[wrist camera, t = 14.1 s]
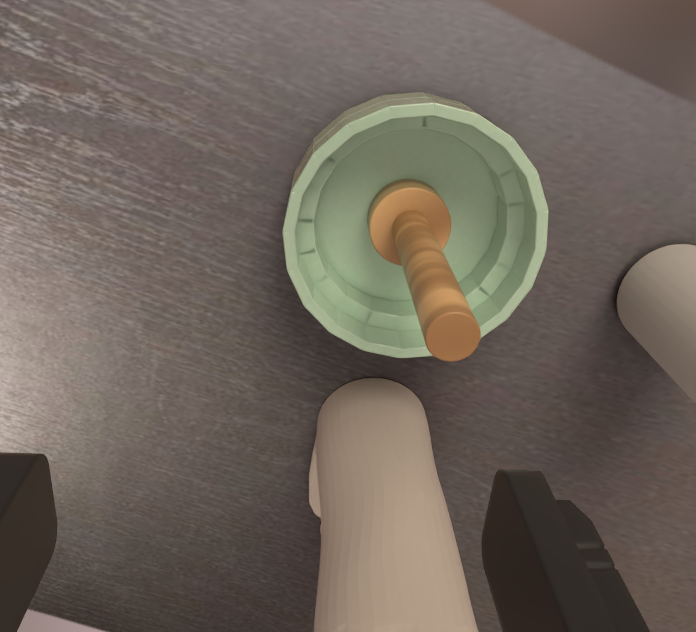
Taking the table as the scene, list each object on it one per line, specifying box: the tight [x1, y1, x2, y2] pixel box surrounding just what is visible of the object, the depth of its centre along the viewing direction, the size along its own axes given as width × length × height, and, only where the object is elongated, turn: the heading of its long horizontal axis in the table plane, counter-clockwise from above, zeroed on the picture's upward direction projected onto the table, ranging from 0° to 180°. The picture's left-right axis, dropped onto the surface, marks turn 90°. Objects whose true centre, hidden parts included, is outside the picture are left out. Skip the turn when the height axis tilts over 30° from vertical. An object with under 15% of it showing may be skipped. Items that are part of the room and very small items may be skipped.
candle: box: [309, 378, 478, 632], centre depth 36 cm, size 7×14×20 cm, turn 171°
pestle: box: [367, 179, 481, 362], centre depth 30 cm, size 4×4×15 cm
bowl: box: [282, 92, 548, 358], centre depth 35 cm, size 13×13×5 cm
